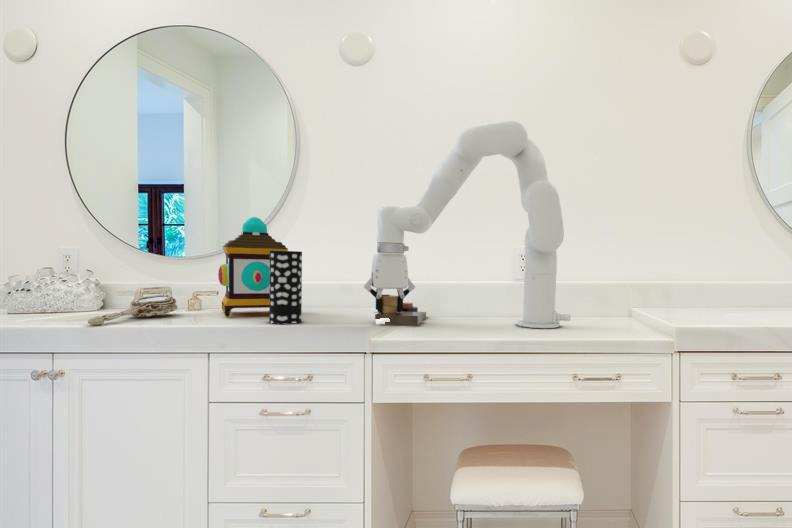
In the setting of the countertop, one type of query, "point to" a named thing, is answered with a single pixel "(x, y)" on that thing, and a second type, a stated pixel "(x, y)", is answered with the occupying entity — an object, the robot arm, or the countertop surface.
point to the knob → (389, 304)
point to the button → (407, 305)
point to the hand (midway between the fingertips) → (389, 311)
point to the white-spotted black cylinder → (285, 287)
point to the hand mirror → (141, 308)
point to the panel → (402, 318)
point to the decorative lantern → (248, 267)
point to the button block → (414, 309)
